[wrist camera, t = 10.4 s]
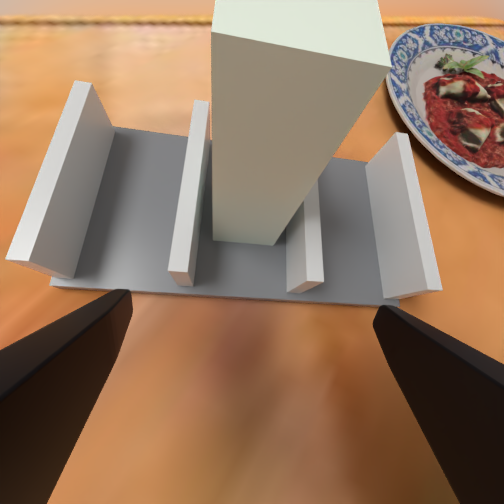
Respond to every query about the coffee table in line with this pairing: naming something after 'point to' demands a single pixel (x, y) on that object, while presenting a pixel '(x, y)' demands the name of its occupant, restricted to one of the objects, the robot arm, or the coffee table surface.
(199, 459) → the coffee table surface
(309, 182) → the cream white box
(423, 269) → the dish rack
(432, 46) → the ceramic plate
